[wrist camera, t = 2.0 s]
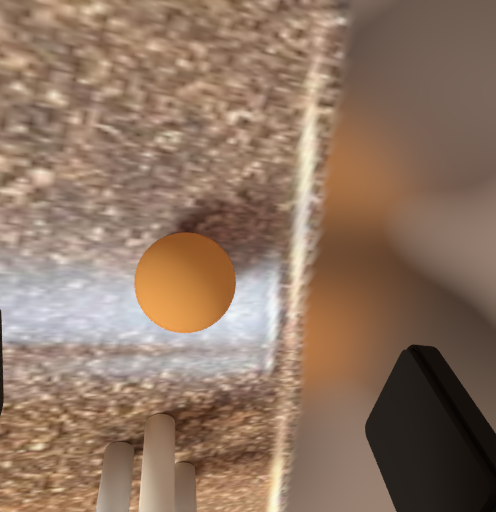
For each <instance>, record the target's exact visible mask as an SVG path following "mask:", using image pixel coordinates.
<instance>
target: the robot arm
mask: <svg viewBox="0 0 496 512" xmlns="http://www.w3.org/2000/svg"><path fill="white" fill-rule="evenodd" d="M3 399H4V396H3V358H2V320H1V310H0V415H1V412H2V407H3ZM365 432H366V437H367V440H368V442H369V445H370V447H371V449H372V452H373V454H374V457H375V459H376V462H377V464H378V467H379V469H380V472H381V474H382V477H383V479H384V482H385V484H386V487H387V489H388V491H389V494H390V496H391V499H392V501H393V504H394V506H395V509H396V511H397V512H496V433H495V432H494V431H493V429H492V428H491V426H490V425H489V423H488V422H487V421H486V419H485V417H484V416H483V415H482V413H481V412H480V410H479V409H478V407H477V406H476V404H475V403H474V401H473V400H472V398H471V397H470V396H469V394H468V393H467V391H466V390H465V388H464V387H463V385H462V384H461V382H460V381H459V380H458V378H457V377H456V375H455V374H454V372H453V371H452V369H451V368H450V366H449V365H448V364H447V362H446V361H445V359H444V358H443V357H442V355H441V354H440V352H439V351H438V350H437V348H435V347H432V346H422V345H411V346H409V347H408V348H407V350H403V351H402V352H401V354H400V356H399V358H398V360H397V362H396V364H395V366H394V368H393V370H392V372H391V374H390V376H389V378H388V380H387V382H386V384H385V386H384V388H383V390H382V392H381V394H380V396H379V398H378V400H377V402H376V404H375V406H374V408H373V410H372V412H371V413H370V415H369V418H368V420H367V422H366V426H365Z"/></svg>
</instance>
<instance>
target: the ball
mask: <svg viewBox="0 0 496 512" xmlns="http://www.w3.org/2000/svg"><path fill="white" fill-rule="evenodd" d="M235 286H236V279H235V272H234V268H233V265H232V262H231V260H230V258H229V257H228V255H227V254H226V252H225V251H224V250H223V249H222V248H221V247H220V246H219V245H218V244H217V243H216V242H214V241H213V240H211V239H210V238H208V237H205V236H203V235H199V234H196V233H187V232H184V233H175V234H171V235H168V236H166V237H163V238H161V239H160V240H158V241H156V242H155V243H154V244H152V245H151V246H150V247H149V248H148V249H147V250H146V252H145V253H144V254H143V256H142V258H141V259H140V261H139V263H138V266H137V269H136V273H135V293H136V297H137V300H138V303H139V305H140V307H141V308H142V310H143V312H144V313H145V314H146V315H147V316H148V318H149V319H150V320H151V321H153V322H154V323H155V324H157V325H158V326H160V327H162V328H164V329H166V330H169V331H173V332H178V333H191V332H197V331H200V330H203V329H205V328H208V327H209V326H211V325H213V324H214V323H215V322H217V321H218V320H219V319H220V318H221V317H222V316H223V315H224V314H225V313H226V311H227V310H228V308H229V306H230V304H231V302H232V300H233V297H234V293H235Z"/></svg>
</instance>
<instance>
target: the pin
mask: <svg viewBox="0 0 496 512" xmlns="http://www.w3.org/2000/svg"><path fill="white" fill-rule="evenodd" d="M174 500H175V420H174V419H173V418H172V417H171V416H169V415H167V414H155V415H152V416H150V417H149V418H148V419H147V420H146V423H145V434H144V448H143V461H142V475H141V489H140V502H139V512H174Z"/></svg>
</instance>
